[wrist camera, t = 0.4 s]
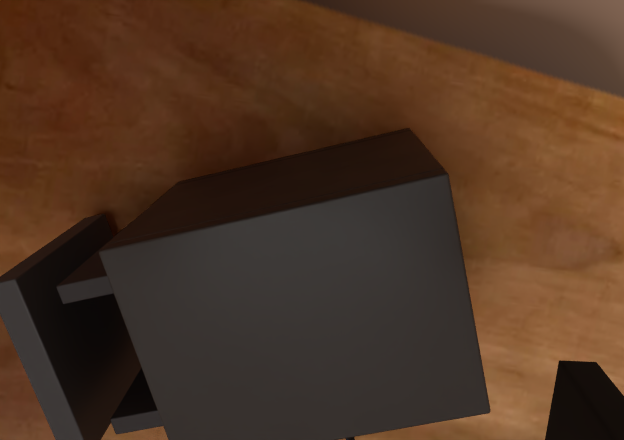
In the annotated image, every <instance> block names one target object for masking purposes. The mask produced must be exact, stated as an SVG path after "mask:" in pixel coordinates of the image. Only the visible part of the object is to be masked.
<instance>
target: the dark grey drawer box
mask: <svg viewBox="0 0 624 440" xmlns="http://www.w3.org/2000/svg"><path fill="white" fill-rule="evenodd" d="M99 255H100V258H101V261H102V263H103V266H104V269H105V271H106V274H107V277H108V279H109V282H110V285H111V287H112V290H113V293H114V295H115V298H116V301H117V303H118V306H119V309H120V311H121V314H122V317H123V319H124V322H125V325H126V327H127V330H128V333H129V335H130V338H131V341H132V343H133V346H134V349H135V351H136V354H137V357H138V359H139V362H140V365H141V367H142V370H143V373H144V375H145V378H146V381H147V383H148V386H149V389H150V391H151V394H152V397H153V399H154V402H155V405H156V407H157V410H158V413H159V415H160V418H161V421H162V423H163V426H164V429H165V431H166V434H167V437H168V439H169V440H338V439H344V438H349V437H355V436H361V435H367V434H372V433H378V432H384V431H389V430H395V429H401V428H407V427H412V426H418V425H424V424H430V423H435V422H441V421H447V420H453V419H458V418H464V417H470V416H475V415H481V414H487V413H490V405H489V400H488V394H487V388H486V383H485V377H484V372H483V366H482V360H481V355H480V349H479V343H478V338H477V332H476V326H475V321H474V315H473V309H472V304H471V298H470V293H469V287H468V281H467V276H466V270H465V264H464V259H463V253H462V247H461V242H460V236H459V231H458V225H457V219H456V214H455V208H454V202H453V197H452V191H451V185H450V180H449V175H448V173H447V172H446V171H445V170H444V168H443V167H442V166H441V165H440V163H439V162H438V161H437V160H436V159H435V158H434V156H433V155H432V154H431V153H430V152H429V150H428V149H427V148H426V147H425V146H424V144H423V143H422V142H421V141H420V140H419V139H418V137H417V136H416V135H415V134H414V133H413V131H412V130H411V129H410V128H407V129H403V130H398V131H394V132H390V133H386V134H381V135H377V136H373V137H369V138H364V139H360V140H356V141H351V142H347V143H343V144H339V145H334V146H330V147H326V148H322V149H317V150H313V151H309V152H304V153H300V154H296V155H292V156H287V157H283V158H279V159H274V160H270V161H266V162H262V163H257V164H253V165H249V166H245V167H240V168H236V169H232V170H227V171H223V172H219V173H215V174H210V175H206V176H202V177H198V178H193V179H189V180H185V181H180V182H178V183H177V184H175V185H174V186H173V187H172V188H171V189H169V190H168V191H167V192H166V193H165V194H164V195H163V196H161V197H160V198H159V199H158V200H157V201H156V202H154V203H153V204H152V205H151V206H150V207H149V208H148V209H146V210H145V211H144V212H143V213H142V214H141V215H140V216H138V217H137V218H136V219H135V220H134V221H133V222H131V223H130V224H129V225H128V226H127V227H126V228H125V229H123V230H122V231H121V232H120V233H119V234H118V235H117V236H115V237H114V238H113V239H112V240H111V241H110V242H109V243H107V245H105V246H104V247H103V248H102V249H101V250H100V251H99Z"/></svg>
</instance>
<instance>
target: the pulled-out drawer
mask: <svg viewBox="0 0 624 440" xmlns="http://www.w3.org/2000/svg"><path fill="white" fill-rule="evenodd" d="M128 225H129V224H128ZM128 225H127V226H128ZM127 226H126V227H127ZM126 227H125V228H126ZM125 228H123V229H125ZM123 229H122V230H123ZM122 230H121V231H122ZM121 231H120V232H121ZM120 232H119V233H120ZM119 233H118V234H119ZM118 234H117V235H118ZM117 235H115V236H117ZM115 236H114V237H115ZM114 237H113V235H112V232H111V230H110V227H109V224H108V221H107V219H106V216H105V214H101V215H96V216H92V217H88V218H84V219H83V220H81V221H80V222H79V223H77V224H76V225H74V226H73V227H71V228H70V229H68V230H67V231H66V232H64V233H63V234H61V235H60V236H58V237H57V238H55V239H54V240H53V241H51V242H50V243H48V244H47V245H45V246H44V247H42V248H41V249H40V250H38V251H37V252H35V253H34V254H32V255H31V256H29V257H28V258H27V259H25V260H24V261H22V262H21V263H19V264H18V265H16V266H15V267H14V268H12V269H11V270H9V271H8V272H6V273H5V274H3V275H2V276H1V277H0V315H1V317H2V319H3V322H4V324H5V326H6V328H7V331H8V333H9V335H10V337H11V340H12V342H13V344H14V346H15V349H16V351H17V353H18V355H19V358H20V360H21V362H22V365H23V367H24V369H25V371H26V374H27V376H28V378H29V380H30V383H31V385H32V387H33V389H34V392H35V394H36V396H37V398H38V401H39V403H40V405H41V407H42V410H43V412H44V414H45V416H46V419H47V421H48V423H49V425H50V428H51V430H52V432H53V434H54V437H55V439H56V440H101V438H102V437H103V435H104V433H105V432H106V430H107V428H108V426H109V425H110V423H112V426H113V428H114V430H115V433H116V434H122V433H127V432H132V431H138V430H143V429H149V428H154V427H160V426H163V423H162V421H161V418H160V415H159V413H158V410H157V407H156V405H155V402H154V399H153V397H152V394H151V391H150V389H149V386H148V383H147V381H146V378H145V375H144V373H143V370H142V367H141V365H140V362H139V359H138V357H137V354H136V351H135V349H134V346H133V343H132V341H131V338H130V335H129V333H128V330H127V327H126V325H125V322H124V319H123V317H122V314H121V311H120V309H119V306H118V303H117V301H116V298H115V295H114V293H113V290H112V287H111V285H110V282H109V279H108V277H107V274H106V271H105V269H104V266H103V263H102V261H101V258H100V255H99V251H100V250H101V249H102V248H103V247H104V246H105V245H107V243H109V242H110V241H111V240H112V239H113V238H114Z"/></svg>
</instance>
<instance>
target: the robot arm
mask: <svg viewBox="0 0 624 440" xmlns="http://www.w3.org/2000/svg"><path fill="white" fill-rule="evenodd" d="M545 440H624V396H623V395H622V393H621V392H620V391H619V390H618V388H617V387H616V386H615V385H614V383H613V382H612V381H611V380H610V378H609V377H608V376H607V375H606V374H605V372H604V371H603V370H602V369H601V367H600V366H599V365H598V364H597V362H580V361H559V364H558V370H557V376H556V381H555V387H554V393H553V398H552V404H551V409H550V415H549V421H548V426H547V432H546V438H545Z"/></svg>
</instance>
